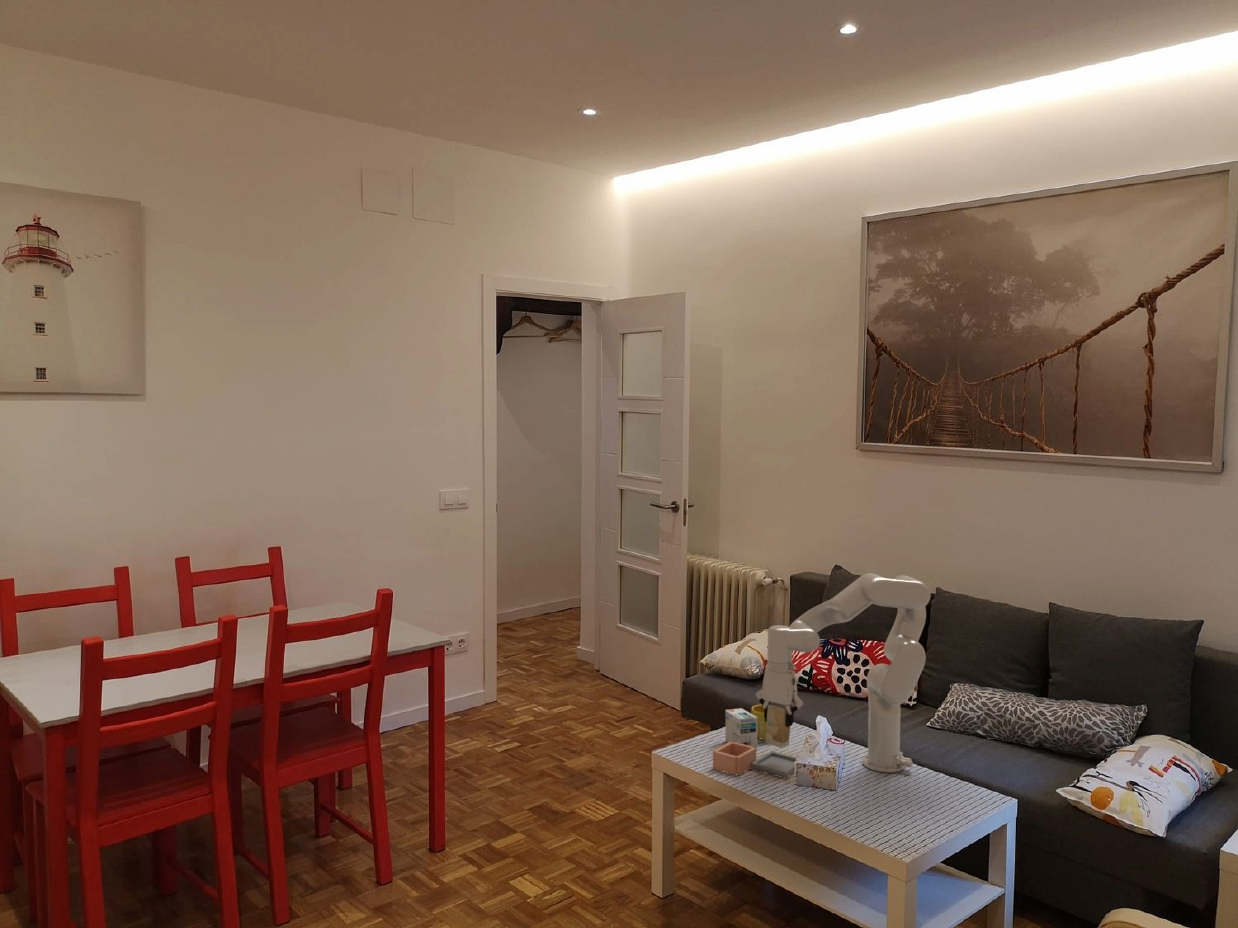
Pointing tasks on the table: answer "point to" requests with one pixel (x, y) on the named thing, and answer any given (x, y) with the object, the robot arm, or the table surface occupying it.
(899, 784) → the table surface
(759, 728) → the plant pot
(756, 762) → the grey tray
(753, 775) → the table surface
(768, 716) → the skincare box
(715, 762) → the terracotta square pot
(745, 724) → the light bulb box
